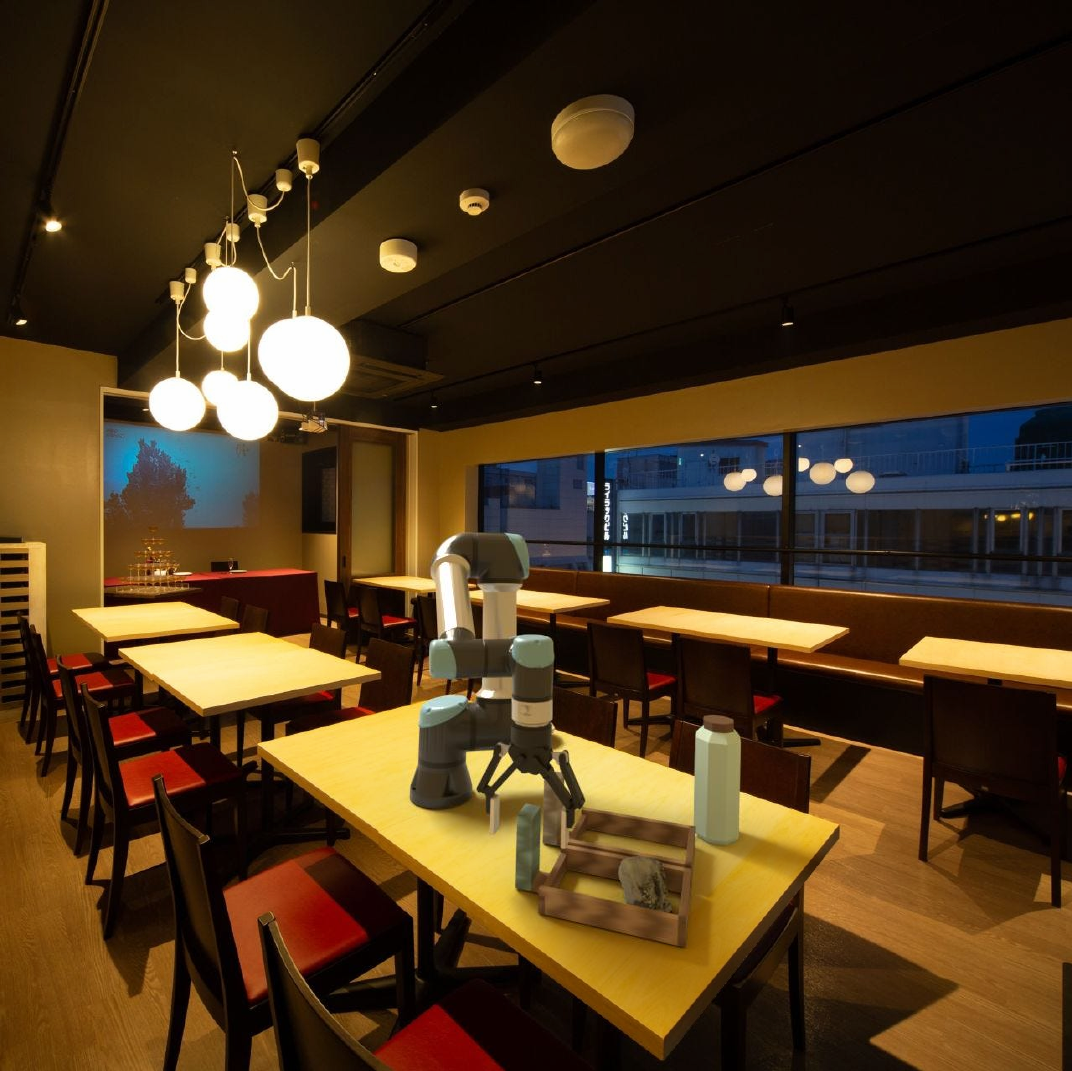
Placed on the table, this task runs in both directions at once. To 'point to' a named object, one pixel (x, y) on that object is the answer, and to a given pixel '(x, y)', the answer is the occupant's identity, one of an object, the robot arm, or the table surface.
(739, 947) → the table surface
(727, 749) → the water bottle
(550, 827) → the empty lane
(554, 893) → the frame
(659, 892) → the stone
